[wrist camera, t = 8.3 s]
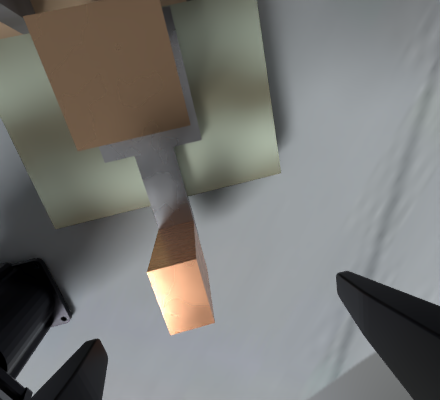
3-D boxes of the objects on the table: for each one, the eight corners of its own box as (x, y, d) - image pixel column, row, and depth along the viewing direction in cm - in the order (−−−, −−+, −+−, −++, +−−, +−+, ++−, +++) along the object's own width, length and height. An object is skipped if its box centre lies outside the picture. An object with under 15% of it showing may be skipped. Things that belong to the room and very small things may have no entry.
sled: (229, 257, 18) (247, 313, 13) (152, 277, 18) (136, 344, 13) (170, 12, 13) (159, -67, 8) (62, 34, 13) (-30, -33, 7)
